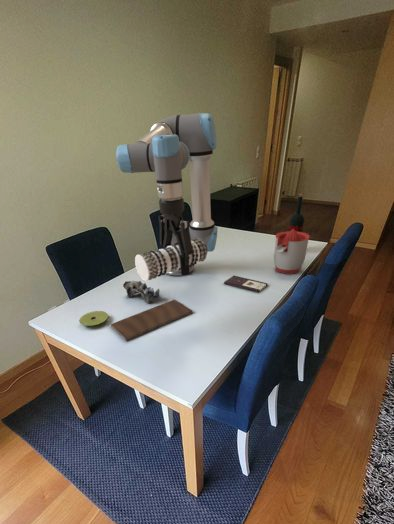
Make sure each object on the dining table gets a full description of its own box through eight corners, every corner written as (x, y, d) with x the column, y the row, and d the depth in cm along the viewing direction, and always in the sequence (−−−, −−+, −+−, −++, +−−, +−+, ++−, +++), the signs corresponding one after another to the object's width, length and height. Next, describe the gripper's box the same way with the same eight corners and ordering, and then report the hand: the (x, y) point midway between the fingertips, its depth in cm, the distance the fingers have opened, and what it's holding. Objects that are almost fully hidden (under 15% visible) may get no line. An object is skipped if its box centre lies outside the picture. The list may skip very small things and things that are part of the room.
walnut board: (126, 341, 106) (125, 338, 105) (111, 326, 114) (110, 324, 113) (192, 312, 120) (192, 310, 119) (174, 301, 128) (174, 299, 127)
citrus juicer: (263, 271, 150) (267, 230, 138) (284, 261, 158) (289, 222, 146) (289, 279, 140) (295, 237, 128) (309, 269, 149) (317, 228, 137)
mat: (113, 323, 116) (111, 319, 115) (84, 332, 112) (83, 328, 110) (103, 312, 124) (102, 308, 123) (77, 320, 119) (75, 316, 118)
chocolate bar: (233, 275, 145) (267, 283, 136) (233, 277, 145) (267, 285, 136) (224, 282, 139) (258, 290, 130) (224, 283, 140) (258, 292, 131)
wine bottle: (282, 253, 168) (290, 195, 150) (287, 248, 175) (295, 192, 157) (296, 255, 165) (305, 196, 147) (300, 249, 172) (310, 192, 154)
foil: (137, 302, 122) (122, 274, 126) (137, 315, 132) (122, 289, 135) (162, 293, 126) (147, 267, 130) (160, 306, 136) (145, 281, 140)
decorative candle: (149, 263, 87) (213, 243, 98) (133, 247, 91) (196, 230, 103) (149, 287, 94) (209, 266, 105) (134, 272, 98) (193, 253, 110)
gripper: (142, 196, 93) (152, 265, 107) (181, 205, 79) (187, 282, 93) (162, 192, 96) (169, 259, 110) (202, 200, 83) (205, 276, 97)
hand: (177, 270), depth 102 cm, fingers closed on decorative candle, 8 cm apart
